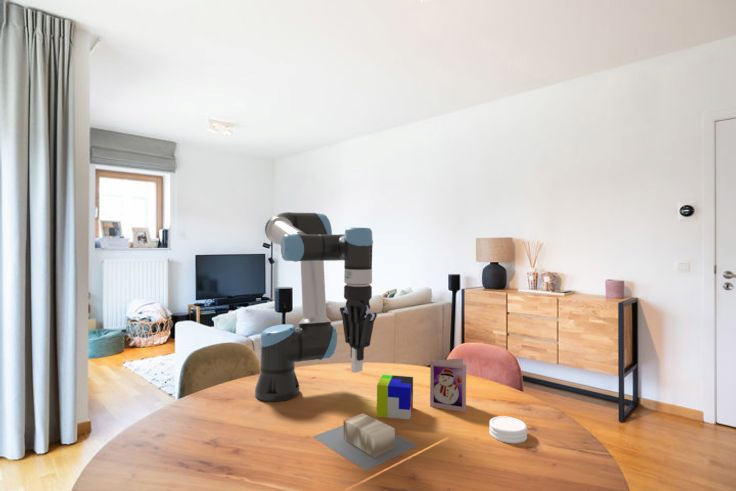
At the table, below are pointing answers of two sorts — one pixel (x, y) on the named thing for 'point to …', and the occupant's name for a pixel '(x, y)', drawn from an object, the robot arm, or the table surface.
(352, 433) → the birch block
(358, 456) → the slate mat
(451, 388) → the greeting card
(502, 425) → the white round disc stack
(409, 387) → the puzzle toy
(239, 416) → the table surface
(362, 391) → the table surface
